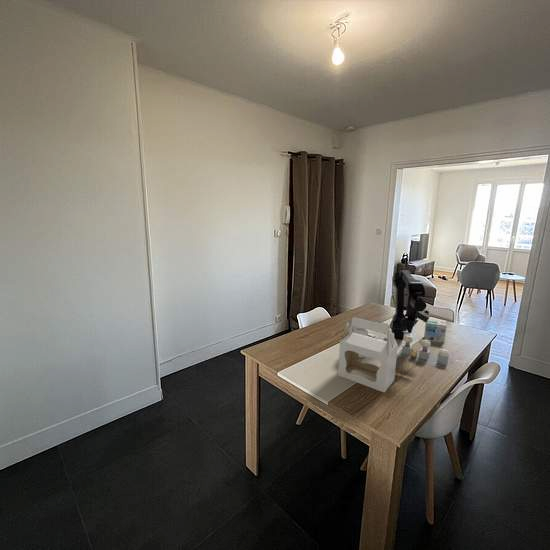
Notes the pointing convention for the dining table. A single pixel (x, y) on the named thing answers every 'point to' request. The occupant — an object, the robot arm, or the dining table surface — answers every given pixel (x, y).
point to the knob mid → (425, 344)
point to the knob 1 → (408, 340)
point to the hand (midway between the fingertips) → (409, 333)
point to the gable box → (368, 355)
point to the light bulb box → (435, 331)
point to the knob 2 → (443, 353)
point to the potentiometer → (413, 354)
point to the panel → (426, 357)
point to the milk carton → (362, 332)
